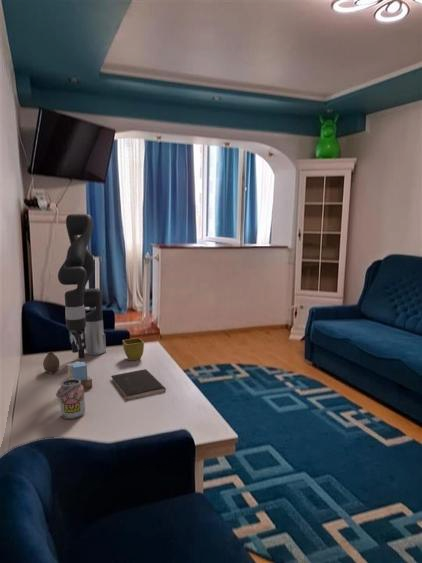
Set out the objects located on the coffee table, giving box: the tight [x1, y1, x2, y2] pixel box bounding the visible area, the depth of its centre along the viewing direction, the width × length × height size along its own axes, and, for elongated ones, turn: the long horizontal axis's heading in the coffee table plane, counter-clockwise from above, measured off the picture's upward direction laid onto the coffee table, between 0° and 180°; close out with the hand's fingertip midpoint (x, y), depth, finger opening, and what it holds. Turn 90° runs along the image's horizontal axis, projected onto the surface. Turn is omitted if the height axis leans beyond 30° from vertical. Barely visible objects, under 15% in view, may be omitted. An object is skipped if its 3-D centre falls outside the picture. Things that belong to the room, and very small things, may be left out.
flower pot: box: [122, 337, 145, 361], centre depth 204 cm, size 9×9×9 cm
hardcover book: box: [110, 368, 167, 400], centre depth 173 cm, size 16×23×2 cm
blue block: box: [70, 361, 88, 381], centre depth 171 cm, size 5×5×6 cm
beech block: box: [67, 361, 80, 379], centre depth 182 cm, size 5×5×6 cm
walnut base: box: [67, 375, 93, 391], centre depth 171 cm, size 7×7×4 cm
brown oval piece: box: [42, 351, 61, 374], centre depth 190 cm, size 7×7×9 cm
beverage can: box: [55, 378, 86, 420], centre depth 147 cm, size 9×8×12 cm
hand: (78, 355), depth 170 cm, fingers open, 8 cm apart
